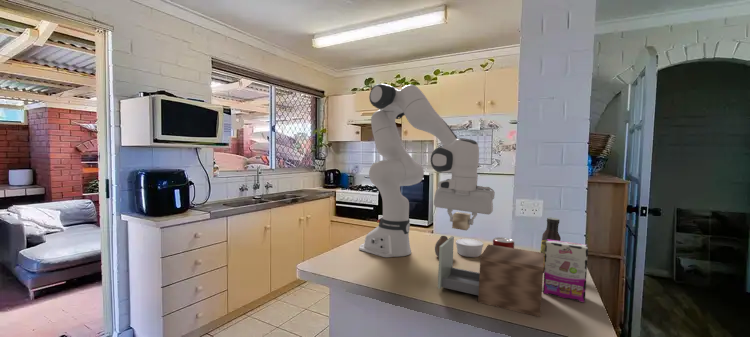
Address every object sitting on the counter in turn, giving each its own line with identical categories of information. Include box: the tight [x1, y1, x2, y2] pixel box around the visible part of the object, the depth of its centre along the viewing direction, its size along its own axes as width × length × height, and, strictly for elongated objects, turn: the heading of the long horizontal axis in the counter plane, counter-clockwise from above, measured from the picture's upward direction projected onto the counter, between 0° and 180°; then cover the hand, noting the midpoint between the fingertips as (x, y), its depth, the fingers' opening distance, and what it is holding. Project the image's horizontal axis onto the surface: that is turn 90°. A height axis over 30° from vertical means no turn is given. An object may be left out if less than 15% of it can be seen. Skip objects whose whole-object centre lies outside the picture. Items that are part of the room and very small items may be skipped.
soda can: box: [492, 236, 515, 248], centre depth 117 cm, size 7×7×12 cm
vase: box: [434, 235, 449, 259], centre depth 131 cm, size 7×7×9 cm
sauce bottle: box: [539, 217, 562, 272], centre depth 119 cm, size 7×6×20 cm
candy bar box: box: [542, 239, 589, 303], centre depth 99 cm, size 11×5×16 cm, turn 58°
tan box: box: [477, 244, 544, 318], centre depth 95 cm, size 16×14×14 cm
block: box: [451, 211, 472, 231], centre depth 115 cm, size 5×5×5 cm
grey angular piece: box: [437, 236, 480, 297], centre depth 101 cm, size 15×14×13 cm
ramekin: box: [455, 238, 484, 258], centre depth 137 cm, size 11×11×5 cm
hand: (461, 222), depth 115 cm, fingers closed on block, 5 cm apart
